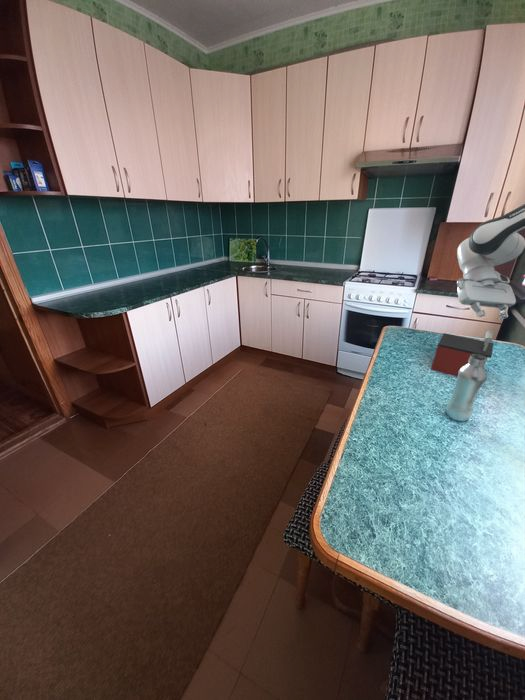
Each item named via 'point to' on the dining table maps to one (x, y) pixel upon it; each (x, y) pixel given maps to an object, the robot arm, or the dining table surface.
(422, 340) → the dining table surface
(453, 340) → the box lid
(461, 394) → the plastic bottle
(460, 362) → the red box
